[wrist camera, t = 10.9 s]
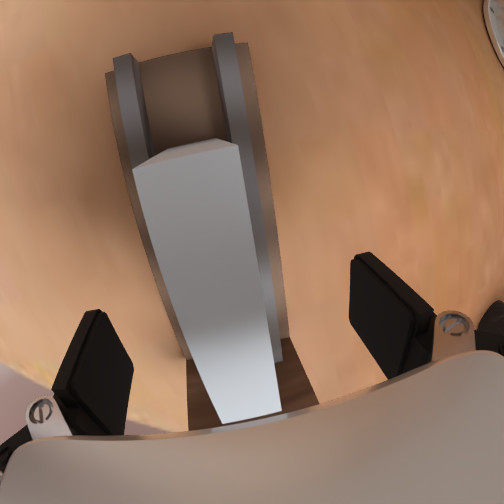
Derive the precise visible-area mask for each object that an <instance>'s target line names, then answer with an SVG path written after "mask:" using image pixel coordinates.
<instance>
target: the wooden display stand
mask: <svg viewBox="0 0 504 504" xmlns="http://www.w3.org/2000/svg"><path fill="white" fill-rule="evenodd" d="M113 63H114V71H111V72H108V73H105V76H106V84H107V90H108V97H109V103H110V109H111V115H112V120H113V126H114V131H115V136H116V141H117V146H118V150H119V155H120V160H121V164H122V168H123V172H124V177H125V181H126V185H127V189H128V193H129V196H130V200H131V204H132V208H133V211H134V215H135V218H136V222H137V225H138V229H139V232H140V235H141V239H142V242H143V245H144V248H145V251H146V254H147V258H148V261H149V264H150V267H151V270H152V273H153V276H154V278H155V281H156V284H157V287H158V290H159V293H160V295H161V298H162V301H163V304H164V306H165V309H166V312H167V314H168V317H169V319H170V322H171V324H172V327H173V329H174V332H175V334H176V337H177V339H178V342H179V344H180V347H181V349H182V351H183V354H184V356H185V358H186V374H187V406H188V427H189V431H193V430H201V429H209V428H216V427H222V426H228V425H234V424H239V423H245V422H250V421H255V420H259V419H264V418H269V417H273V416H277V415H281V414H285V413H289V412H293V411H297V410H301V409H304V408H308V407H311V406H315V405H318V404H319V402H318V399H317V397H316V395H315V393H314V390H313V388H312V386H311V384H310V382H309V379H308V377H307V375H306V373H305V370H304V368H303V366H302V364H301V361H300V359H299V357H298V355H297V353H296V350H295V348H294V346H293V344H292V341H291V339H290V336H289V327H288V317H287V308H286V299H285V291H284V282H283V274H282V266H281V257H280V249H279V242H278V234H277V226H276V219H275V211H274V204H273V197H272V190H271V182H270V176H269V169H268V162H267V155H266V149H265V142H264V136H263V129H262V123H261V117H260V110H259V104H258V98H257V92H256V86H255V80H254V75H253V69H252V63H251V58H250V52H249V47H248V43H239V44H235V43H234V37H233V32H231V33H223V34H215V35H214V37H213V42H212V47H208V48H202V49H197V50H191V51H186V52H181V53H176V54H172V55H167V56H163V57H159V58H155V59H151V60H147V61H144V62H140V63H139V62H138V61H137V60H136V59H135V58H134V56H133V55H132V54H131V53H129V54H125V55H122V56H119V57H116V58H113ZM215 138H217V139H220V140H223V141H227V142H230V143H233V144H236V145H238V148H239V154H240V160H241V166H242V172H243V178H244V184H245V190H246V196H247V202H248V208H249V214H250V220H251V226H252V232H253V238H254V244H255V250H256V256H257V262H258V268H259V274H260V280H261V286H262V292H263V298H264V304H265V310H266V316H267V322H268V329H269V335H270V341H271V347H272V353H273V359H274V365H275V372H276V378H277V384H278V390H279V396H280V403H281V409H282V411H279V412H275V413H271V414H267V415H263V416H259V417H254V418H250V419H245V420H240V421H235V422H230V423H225V424H222V422H221V420H220V418H219V416H218V414H217V412H216V410H215V407H214V405H213V403H212V401H211V399H210V397H209V394H208V392H207V390H206V388H205V385H204V383H203V381H202V379H201V376H200V374H199V372H198V369H197V367H196V365H195V362H194V360H193V357H192V355H191V353H190V350H189V348H188V345H187V343H186V340H185V337H184V335H183V332H182V330H181V327H180V324H179V322H178V319H177V316H176V314H175V311H174V308H173V306H172V303H171V300H170V297H169V294H168V291H167V289H166V286H165V283H164V280H163V277H162V274H161V271H160V268H159V264H158V261H157V258H156V255H155V252H154V249H153V245H152V242H151V239H150V235H149V232H148V228H147V225H146V221H145V218H144V214H143V210H142V207H141V203H140V199H139V195H138V191H137V188H136V183H135V179H134V175H133V171H132V169H134V168H135V167H137V166H139V165H140V164H142V163H144V162H145V161H147V160H149V159H150V158H152V157H154V156H156V155H158V154H159V153H161V152H163V151H165V150H167V149H169V148H173V147H177V146H182V145H186V144H191V143H195V142H200V141H205V140H210V139H215Z"/></svg>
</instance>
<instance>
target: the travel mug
mask: <svg viewBox="0 0 504 504" xmlns="http://www.w3.org/2000/svg"><path fill="white" fill-rule="evenodd" d="M477 331H483V332H488V333H494V334H500V335H504V303H503V302H502V301H497V302H495V303H494V304H493V305H492V306H491V307H490V308H489V309H488V310H487V312H486V313H485V315H484V316H483V318H482V320H481V322H480V324H479V326H478V330H477Z"/></svg>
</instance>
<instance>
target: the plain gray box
mask: <svg viewBox="0 0 504 504" xmlns="http://www.w3.org/2000/svg"><path fill="white" fill-rule="evenodd" d="M132 171H133V175H134V179H135V183H136V188H137V191H138V195H139V199H140V203H141V207H142V210H143V214H144V218H145V221H146V225H147V228H148V232H149V235H150V239H151V242H152V245H153V249H154V252H155V255H156V258H157V261H158V264H159V268H160V271H161V274H162V277H163V280H164V283H165V286H166V289H167V291H168V294H169V297H170V300H171V303H172V306H173V308H174V311H175V314H176V316H177V319H178V322H179V324H180V327H181V330H182V332H183V335H184V337H185V340H186V343H187V345H188V348H189V350H190V353H191V355H192V357H193V360H194V362H195V365H196V367H197V369H198V372H199V374H200V376H201V379H202V381H203V383H204V385H205V388H206V390H207V392H208V394H209V397H210V399H211V401H212V403H213V405H214V407H215V410H216V412H217V414H218V416H219V418H220V420H221V422H222V424H225V423H230V422H235V421H240V420H245V419H250V418H254V417H259V416H263V415H267V414H271V413H275V412H279V411H282V409H281V403H280V396H279V390H278V384H277V378H276V372H275V365H274V359H273V353H272V347H271V341H270V335H269V329H268V322H267V316H266V310H265V304H264V298H263V292H262V286H261V280H260V274H259V268H258V262H257V256H256V250H255V244H254V238H253V232H252V226H251V220H250V214H249V208H248V202H247V196H246V190H245V184H244V178H243V172H242V166H241V160H240V154H239V148H238V145H236V144H233V143H230V142H227V141H223V140H220V139H217V138H215V139H210V140H205V141H200V142H195V143H191V144H186V145H182V146H177V147H173V148H169V149H167V150H165V151H163V152H161V153H159V154H158V155H156V156H154V157H152V158H150V159H149V160H147V161H145V162H144V163H142V164H140V165H139V166H137V167H135V168H134V169H132Z"/></svg>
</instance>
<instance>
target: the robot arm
mask: <svg viewBox="0 0 504 504" xmlns="http://www.w3.org/2000/svg"><path fill="white" fill-rule="evenodd" d="M483 11H484V18H485V23H486V27H487V30H488V33H489V36H490V39H491V42H492V44H493V47H494V49H495V51H496V53H497V56H498V58H499V60H500V61H501V63H502V65H503V67H504V0H485V1H484V6H483ZM433 311H434V309H433V308H432V307H431V306H430V305H429V304H428V303H427V302H426V301H425V300H424V299H422V298H421V297H420V296H419V295H418V294H417V293H416V292H415V291H414V290H413V289H412V288H411V287H410V286H408V285H407V284H406V283H405V282H404V281H403V280H402V279H401V278H400V277H398V276H397V275H396V274H395V273H394V272H393V271H392V270H391V269H389V268H388V267H387V266H386V265H385V264H384V263H383V262H381V261H380V260H379V259H378V258H377V257H376V256H374V255H373V254H372V253H371V252H365V253H361V254H357V255H355V257H354V259H353V260H351V264H350V301H349V320H350V323H351V325H352V327H353V328H354V329H355V331H356V332H357V334H358V335H359V337H360V338H361V340H362V341H363V343H364V344H365V346H366V347H367V349H368V350H369V352H370V353H371V354H372V356H373V357H374V359H375V360H376V362H377V363H378V365H379V366H380V368H381V370H382V371H383V373H384V374H385V376H386V377H387V379H388V380H387V381H384V382H382V383H379V384H376V385H374V386H371V387H368V388H366V389H363V390H360V391H358V392H355V393H352V394H349V395H346V396H343V397H340V398H337V399H334V400H331V401H328V402H325V403H321V404H318V405H315V406H311V407H308V408H304V409H301V410H297V411H293V412H289V413H285V414H281V415H277V416H273V417H269V418H264V419H259V420H255V421H250V422H245V423H239V424H234V425H228V426H222V427H216V428H209V429H201V430H193V431H185V432H175V433H164V434H148V435H124V429H125V421H126V414H127V408H128V401H129V395H130V389H131V383H132V377H133V372H134V367H133V363H132V361H131V359H130V357H129V356H128V354H127V352H126V350H125V348H124V347H123V345H122V343H121V341H120V339H119V337H118V335H117V333H116V331H115V330H114V328H113V326H112V324H111V322H110V320H109V318H108V316H107V314H106V313H105V312H102V311H101V310H100V309H96V310H91V311H86V312H85V314H84V316H83V318H82V320H81V322H80V324H79V326H78V328H77V330H76V332H75V335H74V337H73V339H72V341H71V343H70V346H69V348H68V350H67V352H66V355H65V357H64V359H63V362H62V364H61V366H60V369H59V371H58V374H57V376H56V379H55V381H54V384H53V386H52V389H51V390H52V391H53V392H54V396H53V397H51V396H48V395H44V396H40V397H38V398H36V399H35V400H34V401H32V402H31V404H30V405H29V406H28V409H27V411H26V421H27V425H26V426H25V427H24V428H22V429H21V430H20V431H18V432H17V433H16V434H14V435H13V436H12V437H10V438H9V439H8V440H6V441H5V442H4V443H2V445H0V504H504V335H500V334H494V333H488V332H483V331H477V330H474V326H473V322H472V321H471V319H470V318H469V317H468V316H466V315H465V314H463V313H461V312H458V311H450V310H448V311H444V312H442V313H440V314H439V315H438V316H437V315H436V314H435V313H434V312H433Z"/></svg>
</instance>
